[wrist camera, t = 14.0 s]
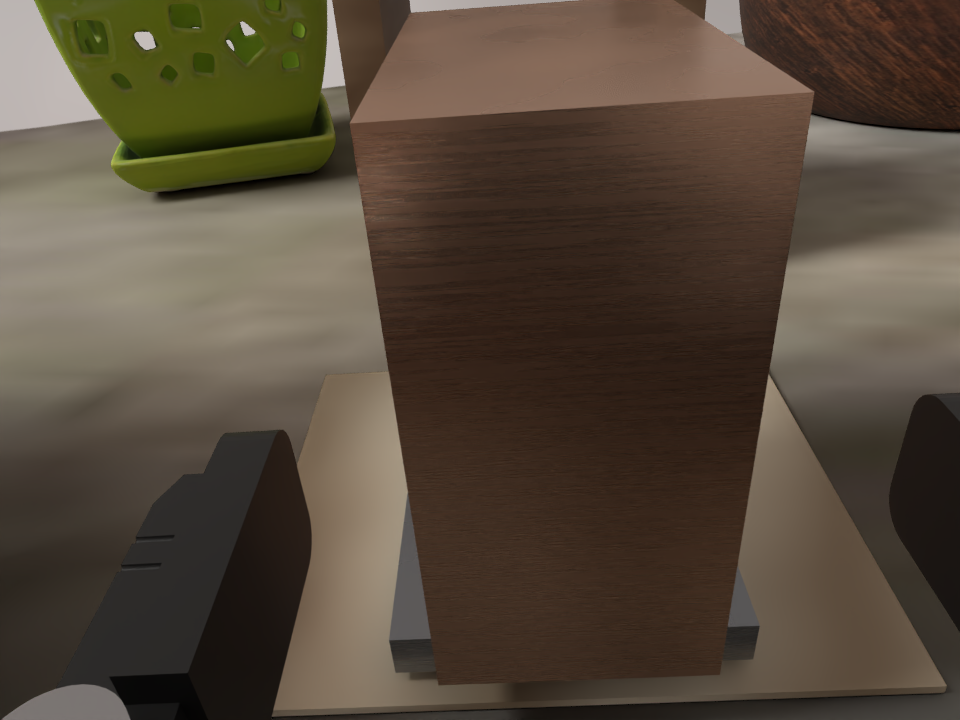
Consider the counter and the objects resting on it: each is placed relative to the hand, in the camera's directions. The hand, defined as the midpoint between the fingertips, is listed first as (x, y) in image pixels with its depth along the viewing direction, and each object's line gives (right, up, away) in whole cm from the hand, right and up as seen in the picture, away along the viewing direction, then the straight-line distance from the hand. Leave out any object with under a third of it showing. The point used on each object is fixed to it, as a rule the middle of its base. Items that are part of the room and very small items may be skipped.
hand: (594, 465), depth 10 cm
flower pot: (-16, +13, +37) cm, 42 cm away
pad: (0, -2, +10) cm, 10 cm away
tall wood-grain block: (0, -1, +11) cm, 11 cm away
